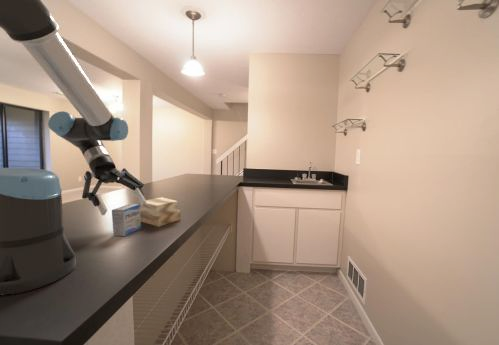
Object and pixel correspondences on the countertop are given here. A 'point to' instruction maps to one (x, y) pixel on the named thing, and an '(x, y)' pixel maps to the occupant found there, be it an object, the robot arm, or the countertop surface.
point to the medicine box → (126, 219)
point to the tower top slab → (159, 206)
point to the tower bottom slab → (160, 218)
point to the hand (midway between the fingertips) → (125, 208)
